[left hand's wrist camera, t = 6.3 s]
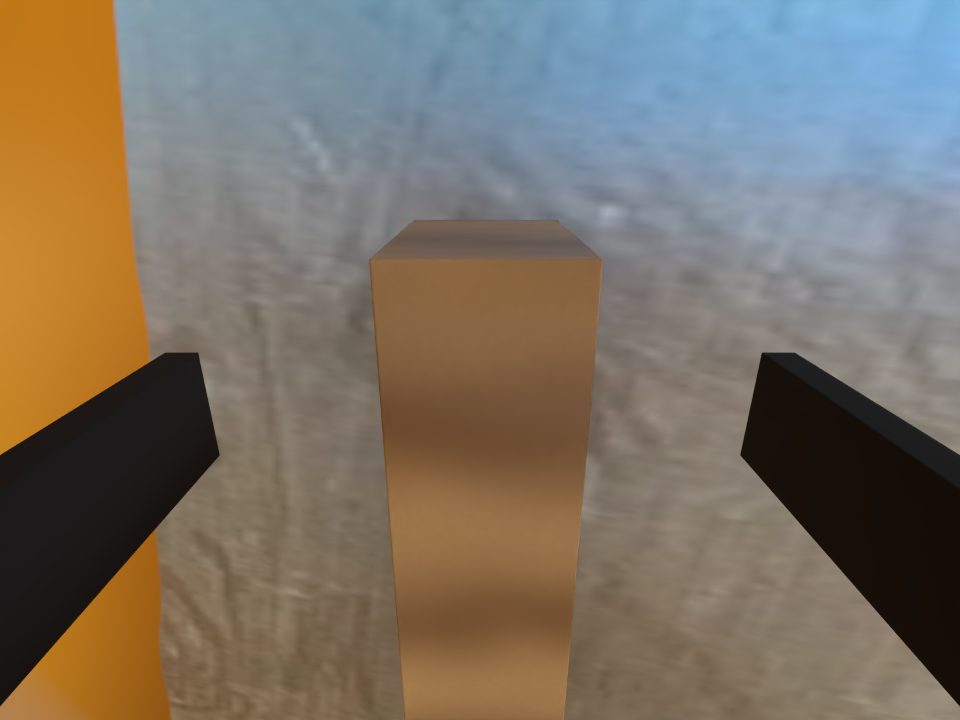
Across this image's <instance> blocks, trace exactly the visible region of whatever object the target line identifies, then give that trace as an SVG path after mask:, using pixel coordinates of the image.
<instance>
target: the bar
mask: <svg viewBox="0 0 960 720" xmlns="http://www.w3.org/2000/svg"><path fill="white" fill-rule="evenodd" d="M369 262H370V275H371V288H372V301H373V313H374V326H375V339H376V352H377V365H378V378H379V391H380V404H381V417H382V430H383V443H384V455H385V468H386V481H387V494H388V507H389V520H390V533H391V546H392V559H393V572H394V585H395V597H396V610H397V623H398V636H399V649H400V662H401V675H402V688H403V701H404V714H405V720H564V711H565V700H566V688H567V677H568V665H569V653H570V642H571V630H572V618H573V607H574V595H575V584H576V572H577V560H578V549H579V537H580V525H581V514H582V502H583V491H584V479H585V467H586V456H587V444H588V432H589V421H590V409H591V398H592V386H593V374H594V363H595V351H596V339H597V328H598V316H599V305H600V293H601V281H602V270H603V259H601V258H600V257H599V256H598V255H597V254H596V253H594V252H593V251H592V250H591V249H590V248H589V247H588V246H586V245H585V244H584V243H583V242H582V241H581V240H580V239H578V238H577V237H576V236H575V235H574V234H573V233H571V232H570V231H569V230H568V229H567V228H566V227H565V226H563V225H562V224H561V223H560V222H559V221H557V220H414V221H412V222H411V223H410V224H409V225H408V226H407V227H406V228H405V229H403V230H402V231H401V232H400V233H399V234H398V235H397V236H396V237H394V238H393V239H392V240H391V241H390V242H389V243H388V244H387V245H385V246H384V247H383V248H382V249H381V250H380V251H379V252H378V253H376V254H375V255H374V256H373V257H372V258H371V259H370V261H369Z"/></svg>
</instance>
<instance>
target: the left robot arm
mask: <svg viewBox="0 0 960 720" xmlns="http://www.w3.org/2000/svg"><path fill="white" fill-rule="evenodd" d="M219 455H220V454H219V450H218V445H217V440H216V435H215V431H214V426H213V421H212V416H211V412H210V407H209V402H208V397H207V393H206V388H205V383H204V378H203V374H202V369H201V364H200V359H199V355H198V353H164V354H162V355H161V356H159V357H157V358H156V359H154V360H153V361H151V362H149V363H148V364H146V365H145V366H143V367H141V368H140V369H138V370H137V371H135V372H133V373H132V374H130V375H129V376H127V377H125V378H124V379H122V380H120V381H119V382H117V383H116V384H114V385H112V386H111V387H109V388H108V389H106V390H104V391H103V392H101V393H100V394H98V395H96V396H95V397H93V398H92V399H90V400H88V401H87V402H85V403H83V404H82V405H80V406H79V407H77V408H75V409H74V410H72V411H70V412H69V413H67V414H66V415H64V416H62V417H61V418H59V419H58V420H56V421H54V422H53V423H51V424H50V425H48V426H46V427H45V428H43V429H42V430H40V431H38V432H37V433H35V434H33V435H32V436H30V437H29V438H27V439H25V440H24V441H22V442H21V443H19V444H17V445H16V446H14V447H12V448H11V449H9V450H8V451H6V452H4V453H3V454H1V455H0V706H1V705H2V704H3V702H4V701H5V700H6V699H7V698H8V697H9V696H10V694H11V693H12V692H13V691H14V690H15V689H16V688H17V686H18V685H19V684H20V683H21V682H22V681H23V680H24V678H25V677H26V676H27V675H28V674H29V673H30V672H31V670H32V669H33V668H34V667H35V666H36V665H37V664H38V662H39V661H40V660H41V659H42V658H43V657H44V655H45V654H46V653H47V652H48V651H49V650H50V649H51V648H52V646H53V645H54V644H55V643H56V642H57V641H58V639H59V638H60V637H61V636H62V635H63V634H64V633H65V632H66V630H67V629H68V628H69V627H70V626H71V625H72V623H73V622H74V621H75V620H76V619H77V618H78V617H79V615H80V614H81V613H82V612H83V611H84V610H85V609H86V608H87V606H88V605H89V604H90V603H91V602H92V601H93V599H94V598H95V597H96V596H97V595H98V594H99V593H100V591H101V590H102V589H103V588H104V587H105V586H106V585H107V583H108V582H109V581H110V580H111V579H112V578H113V577H114V575H115V574H116V573H117V572H118V571H119V570H120V569H121V567H122V566H123V565H124V564H125V563H126V562H127V561H128V559H129V558H130V557H131V556H132V555H133V554H134V553H135V551H136V550H137V549H138V548H139V547H140V546H141V545H142V543H143V542H144V541H145V540H146V539H147V538H148V537H149V535H150V534H151V533H152V532H153V531H154V530H155V529H156V527H157V526H158V525H159V524H160V523H161V522H162V521H163V519H164V518H165V517H166V516H167V515H168V514H169V513H170V511H171V510H172V509H173V508H174V507H175V506H176V505H177V503H178V502H179V501H180V500H181V499H182V498H183V497H184V495H185V494H186V493H187V492H188V491H189V490H190V489H191V487H192V486H193V485H194V484H195V483H196V482H197V481H198V479H199V478H200V477H201V476H202V475H203V474H204V473H205V471H206V470H207V469H208V468H209V467H210V466H211V464H212V463H213V462H214V461H215V460H216V459H217V458H218V456H219ZM740 455H741V456H742V458H743V459H744V460H745V461H746V462H747V463H748V464H749V466H750V467H751V468H752V469H753V470H754V471H755V473H756V474H757V475H758V476H759V477H760V478H761V479H762V481H763V482H764V483H765V484H766V485H767V486H768V487H769V489H770V490H771V491H772V492H773V493H774V494H775V495H776V497H777V498H778V499H779V500H780V501H781V502H782V503H783V505H784V506H785V507H786V508H787V509H788V510H789V511H790V513H791V514H792V515H793V516H794V517H795V518H796V519H797V521H798V522H799V523H800V524H801V525H802V526H803V527H804V529H805V530H806V531H807V532H808V533H809V534H810V535H811V537H812V538H813V539H814V540H815V541H816V542H817V543H818V545H819V546H820V547H821V548H822V549H823V550H824V551H825V553H826V554H827V555H828V556H829V557H830V558H831V559H832V561H833V562H834V563H835V564H836V565H837V566H838V567H839V569H840V570H841V571H842V572H843V573H844V574H845V575H846V577H847V578H848V579H849V580H850V581H851V582H852V583H853V585H854V586H855V587H856V588H857V589H858V590H859V591H860V593H861V594H862V595H863V596H864V597H865V598H866V599H867V601H868V602H869V603H870V604H871V605H872V606H873V608H874V609H875V610H876V611H877V612H878V613H879V614H880V616H881V617H882V618H883V619H884V620H885V621H886V622H887V624H888V625H889V626H890V627H891V628H892V629H893V630H894V632H895V633H896V634H897V635H898V636H899V637H900V638H901V640H902V641H903V642H904V643H905V644H906V645H907V646H908V648H909V649H910V650H911V651H912V652H913V653H914V654H915V656H916V657H917V658H918V659H919V660H920V661H921V662H922V664H923V665H924V666H925V667H926V668H927V669H928V670H929V672H930V673H931V674H932V675H933V676H934V677H935V678H936V680H937V681H938V682H939V683H940V684H941V685H942V686H943V688H944V689H945V690H946V691H947V692H948V693H949V694H950V696H951V697H952V698H953V699H954V700H955V701H956V702H957V704H958V705H959V706H960V455H959V454H957V453H956V452H954V451H952V450H951V449H949V448H948V447H946V446H944V445H943V444H941V443H939V442H938V441H936V440H935V439H933V438H931V437H930V436H928V435H927V434H925V433H923V432H922V431H920V430H919V429H917V428H915V427H914V426H912V425H910V424H909V423H907V422H906V421H904V420H902V419H901V418H899V417H898V416H896V415H894V414H893V413H891V412H890V411H888V410H886V409H885V408H883V407H881V406H880V405H878V404H877V403H875V402H873V401H872V400H870V399H869V398H867V397H865V396H864V395H862V394H861V393H859V392H857V391H856V390H854V389H852V388H851V387H849V386H848V385H846V384H844V383H843V382H841V381H840V380H838V379H836V378H835V377H833V376H832V375H830V374H828V373H827V372H825V371H823V370H822V369H820V368H819V367H817V366H815V365H814V364H812V363H811V362H809V361H807V360H806V359H804V358H803V357H801V356H799V355H798V354H796V353H762V355H761V359H760V364H759V369H758V374H757V378H756V383H755V388H754V393H753V397H752V402H751V407H750V412H749V416H748V421H747V426H746V431H745V435H744V440H743V445H742V450H741V454H740Z"/></svg>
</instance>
